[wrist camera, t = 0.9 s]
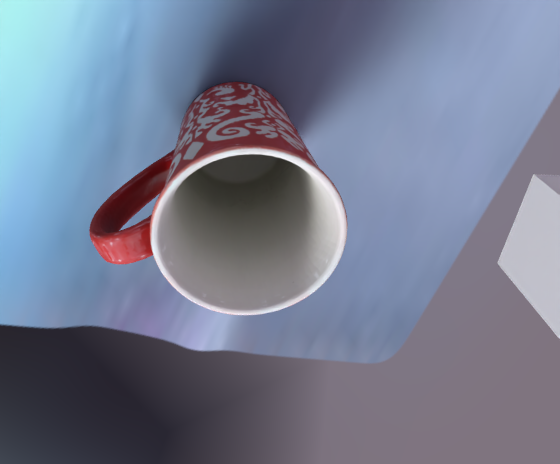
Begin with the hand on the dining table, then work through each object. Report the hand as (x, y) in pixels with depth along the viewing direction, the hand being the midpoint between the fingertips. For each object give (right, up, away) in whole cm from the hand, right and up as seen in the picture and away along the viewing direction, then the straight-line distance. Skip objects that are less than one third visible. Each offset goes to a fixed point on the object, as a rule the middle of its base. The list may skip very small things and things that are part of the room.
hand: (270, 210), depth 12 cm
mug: (-4, +6, +23) cm, 24 cm away
